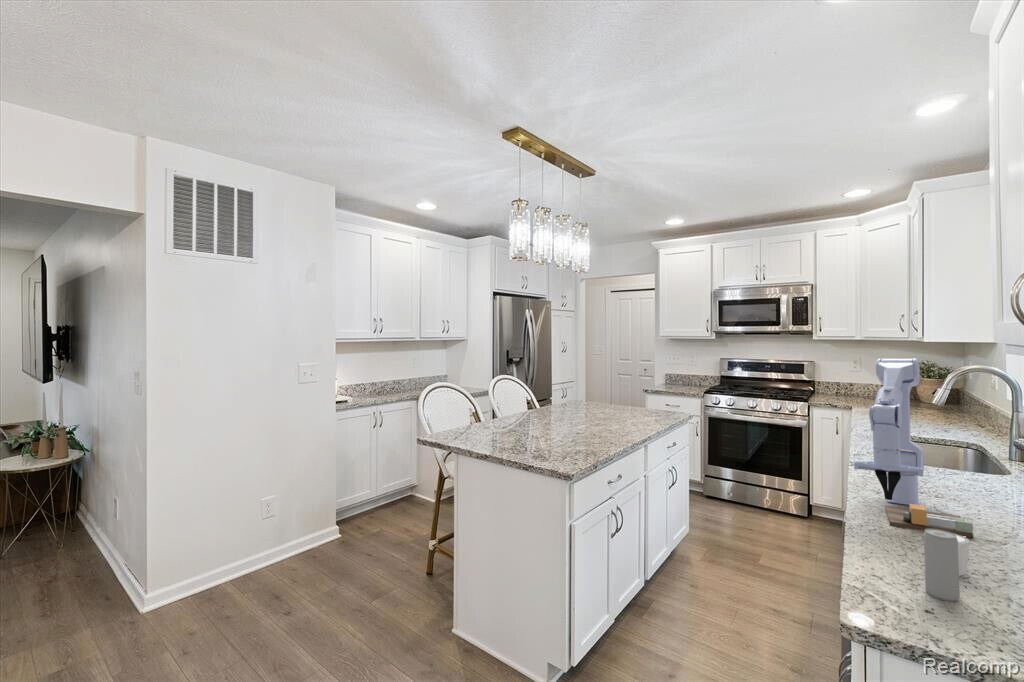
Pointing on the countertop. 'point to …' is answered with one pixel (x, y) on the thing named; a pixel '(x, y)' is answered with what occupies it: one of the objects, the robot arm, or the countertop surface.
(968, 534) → the tong board
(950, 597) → the beverage can
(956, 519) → the tong arm
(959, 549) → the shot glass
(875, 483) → the countertop surface
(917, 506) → the collar
